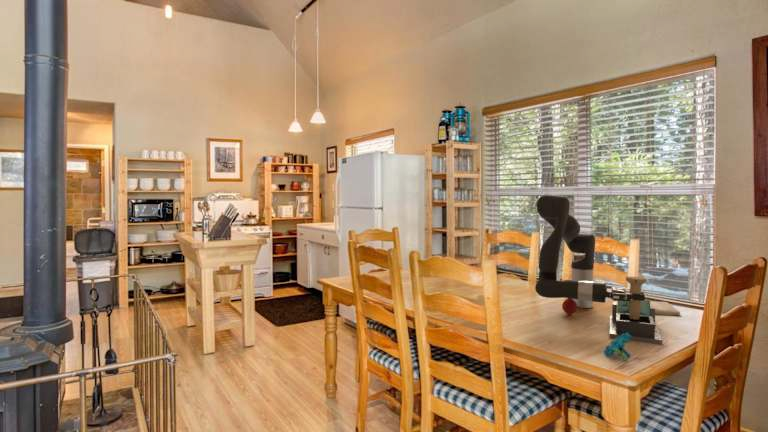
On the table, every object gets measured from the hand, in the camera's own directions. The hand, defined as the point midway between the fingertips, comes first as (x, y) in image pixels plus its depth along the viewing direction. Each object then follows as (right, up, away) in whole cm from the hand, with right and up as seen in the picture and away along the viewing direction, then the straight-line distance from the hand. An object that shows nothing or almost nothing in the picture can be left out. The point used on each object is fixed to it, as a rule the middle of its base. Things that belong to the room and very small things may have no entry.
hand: (644, 296), depth 163 cm
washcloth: (+27, -13, +37) cm, 48 cm away
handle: (-3, -9, +2) cm, 9 cm away
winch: (0, -14, +7) cm, 16 cm away
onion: (-15, -13, +28) cm, 35 cm away
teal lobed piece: (-20, -16, -20) cm, 32 cm away
